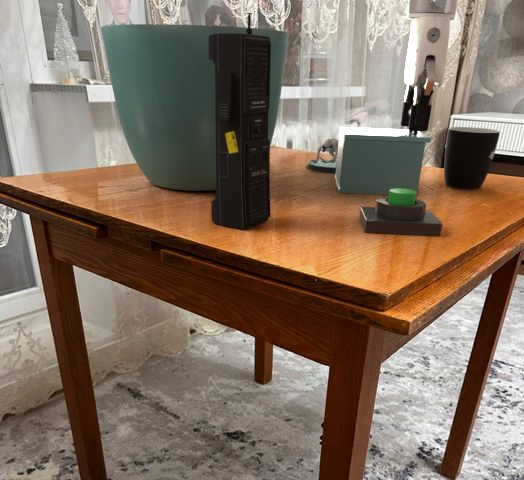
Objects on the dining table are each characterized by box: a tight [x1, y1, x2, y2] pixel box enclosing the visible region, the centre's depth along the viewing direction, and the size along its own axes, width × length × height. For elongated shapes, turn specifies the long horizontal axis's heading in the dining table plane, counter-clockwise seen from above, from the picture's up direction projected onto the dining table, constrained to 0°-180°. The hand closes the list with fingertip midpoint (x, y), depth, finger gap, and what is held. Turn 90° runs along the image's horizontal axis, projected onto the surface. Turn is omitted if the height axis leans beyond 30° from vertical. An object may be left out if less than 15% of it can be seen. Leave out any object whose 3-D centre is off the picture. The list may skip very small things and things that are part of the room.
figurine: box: [305, 138, 339, 174], centre depth 115 cm, size 11×12×6 cm
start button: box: [388, 188, 418, 205], centre depth 74 cm, size 4×4×2 cm
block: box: [358, 196, 443, 237], centre depth 75 cm, size 10×8×4 cm
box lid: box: [338, 107, 432, 143], centre depth 94 cm, size 14×12×5 cm
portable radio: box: [209, 12, 272, 231], centre depth 69 cm, size 8×6×25 cm
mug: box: [443, 126, 500, 190], centre depth 103 cm, size 12×9×10 cm
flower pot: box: [100, 23, 290, 192], centre depth 93 cm, size 30×30×24 cm
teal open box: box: [334, 131, 427, 197], centre depth 98 cm, size 14×12×9 cm
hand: (413, 127), depth 94 cm, fingers open, 6 cm apart
